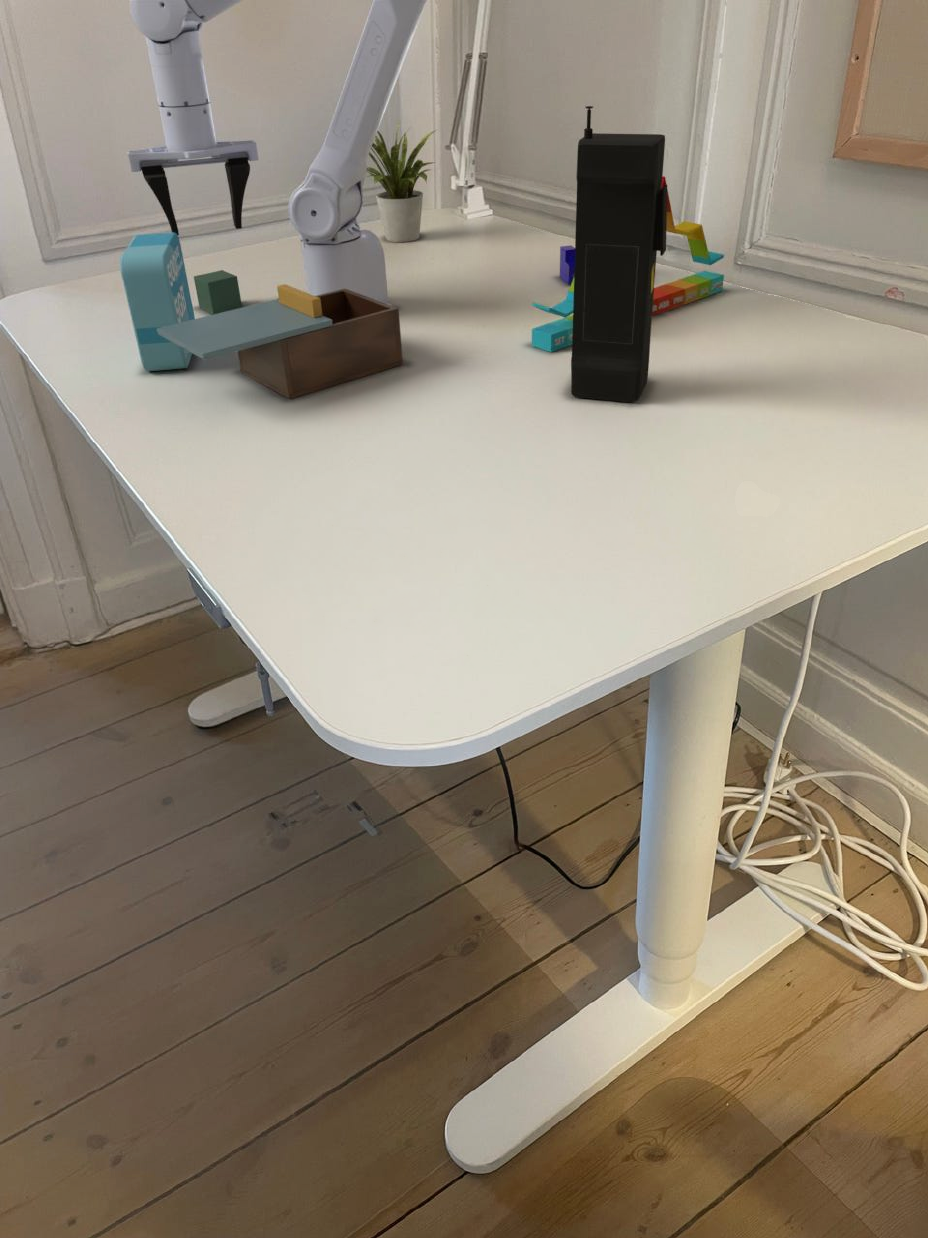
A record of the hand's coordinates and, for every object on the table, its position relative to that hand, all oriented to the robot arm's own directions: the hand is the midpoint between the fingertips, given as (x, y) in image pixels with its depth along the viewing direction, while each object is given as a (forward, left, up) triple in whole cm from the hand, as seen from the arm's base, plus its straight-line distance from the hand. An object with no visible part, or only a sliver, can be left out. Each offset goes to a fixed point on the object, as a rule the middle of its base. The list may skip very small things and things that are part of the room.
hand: (207, 230), depth 117 cm
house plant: (-36, -13, -10) cm, 39 cm away
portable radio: (-16, +53, -10) cm, 56 cm away
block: (0, 0, -9) cm, 9 cm away
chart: (-34, +39, -10) cm, 52 cm away
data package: (+12, +12, -10) cm, 20 cm away
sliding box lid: (+10, +28, -3) cm, 29 cm away
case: (+2, +28, -9) cm, 29 cm away
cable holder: (-42, +24, -10) cm, 49 cm away
